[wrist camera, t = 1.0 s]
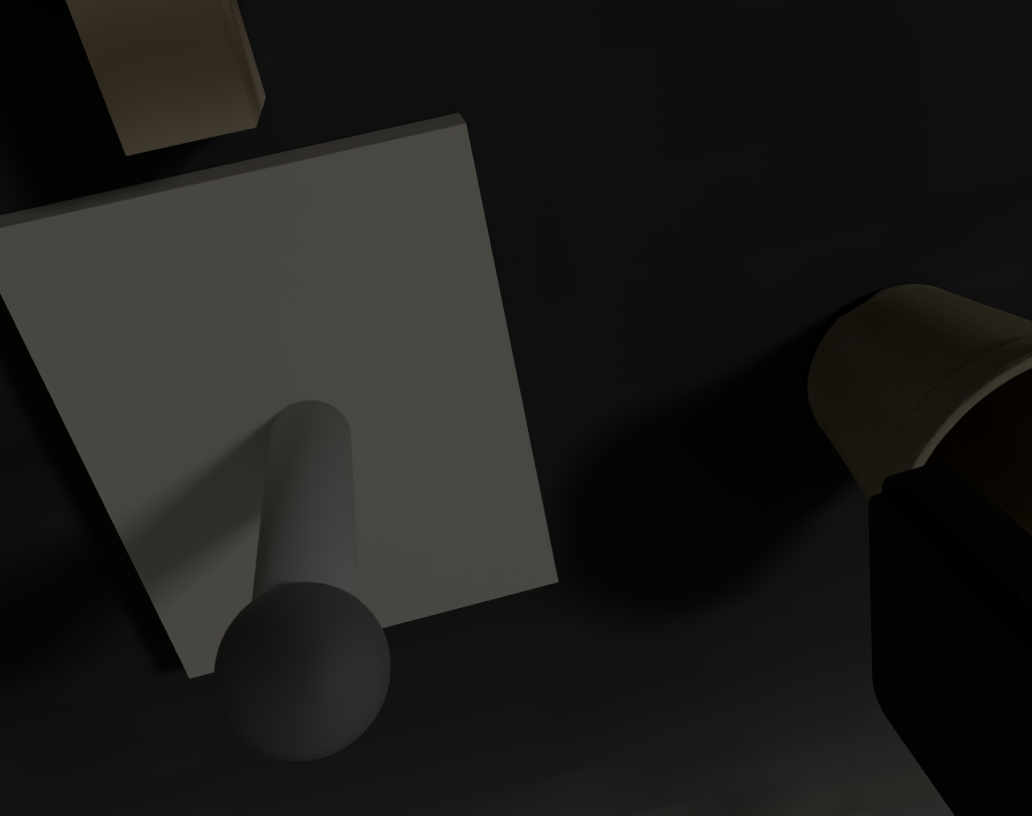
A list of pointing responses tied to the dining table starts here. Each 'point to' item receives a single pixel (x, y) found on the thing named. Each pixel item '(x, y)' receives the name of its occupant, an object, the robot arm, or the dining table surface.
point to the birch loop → (170, 68)
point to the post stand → (292, 410)
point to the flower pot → (929, 392)
